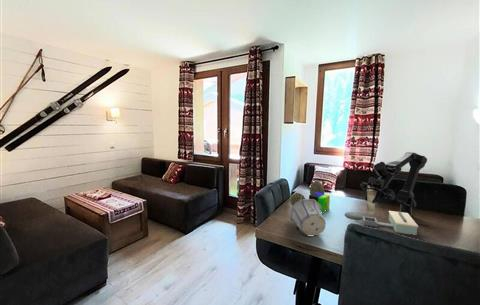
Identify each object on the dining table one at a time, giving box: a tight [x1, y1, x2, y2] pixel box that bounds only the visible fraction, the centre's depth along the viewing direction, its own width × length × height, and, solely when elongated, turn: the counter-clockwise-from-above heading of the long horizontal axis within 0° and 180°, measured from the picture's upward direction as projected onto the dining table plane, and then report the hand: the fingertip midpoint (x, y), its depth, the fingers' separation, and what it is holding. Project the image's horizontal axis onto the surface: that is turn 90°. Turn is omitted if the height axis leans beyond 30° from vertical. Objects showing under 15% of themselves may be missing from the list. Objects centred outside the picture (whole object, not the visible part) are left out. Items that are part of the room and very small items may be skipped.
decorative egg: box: [309, 180, 325, 195], centre depth 171 cm, size 11×11×15 cm
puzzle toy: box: [308, 192, 331, 213], centre depth 152 cm, size 10×10×10 cm
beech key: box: [365, 190, 377, 215], centre depth 129 cm, size 5×5×13 cm
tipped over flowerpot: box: [289, 192, 327, 236], centre depth 127 cm, size 18×18×30 cm
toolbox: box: [361, 210, 419, 236], centre depth 128 cm, size 19×24×6 cm
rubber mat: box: [344, 211, 363, 220], centre depth 141 cm, size 10×10×1 cm
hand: (369, 201), depth 128 cm, fingers closed on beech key, 4 cm apart
